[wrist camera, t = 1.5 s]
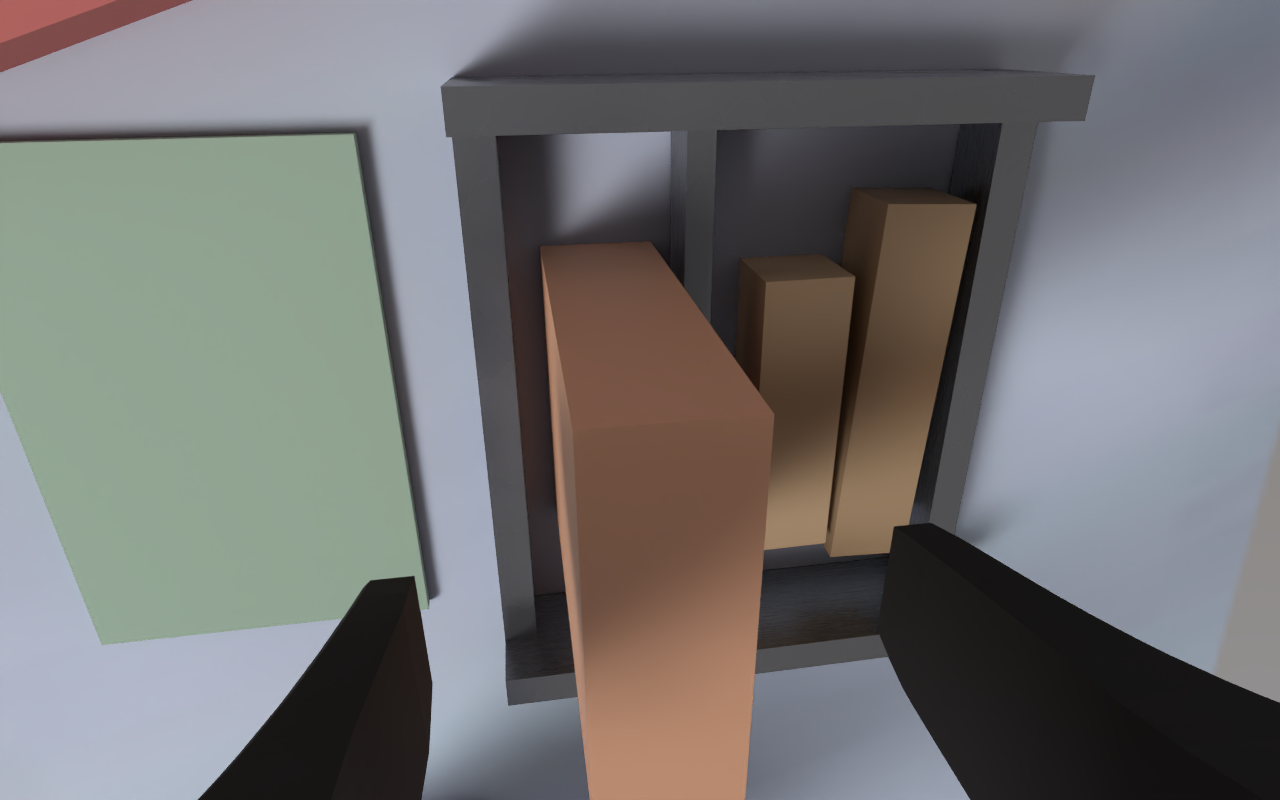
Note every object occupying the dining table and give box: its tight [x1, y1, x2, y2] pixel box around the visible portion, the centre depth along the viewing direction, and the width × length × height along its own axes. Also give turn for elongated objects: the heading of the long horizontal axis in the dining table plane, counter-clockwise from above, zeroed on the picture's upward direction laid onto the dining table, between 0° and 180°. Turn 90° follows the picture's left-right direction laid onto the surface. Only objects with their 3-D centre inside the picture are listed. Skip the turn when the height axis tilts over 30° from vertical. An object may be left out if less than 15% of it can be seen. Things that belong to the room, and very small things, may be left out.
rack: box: [441, 69, 1095, 706], centre depth 18 cm, size 14×12×3 cm
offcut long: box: [822, 188, 977, 557], centre depth 19 cm, size 9×2×2 cm, turn 178°
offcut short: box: [735, 254, 855, 550], centre depth 19 cm, size 7×2×2 cm, turn 1°
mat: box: [0, 133, 430, 645], centre depth 17 cm, size 12×8×1 cm, turn 1°
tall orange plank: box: [540, 241, 774, 800], centre depth 15 cm, size 7×2×9 cm, turn 1°
